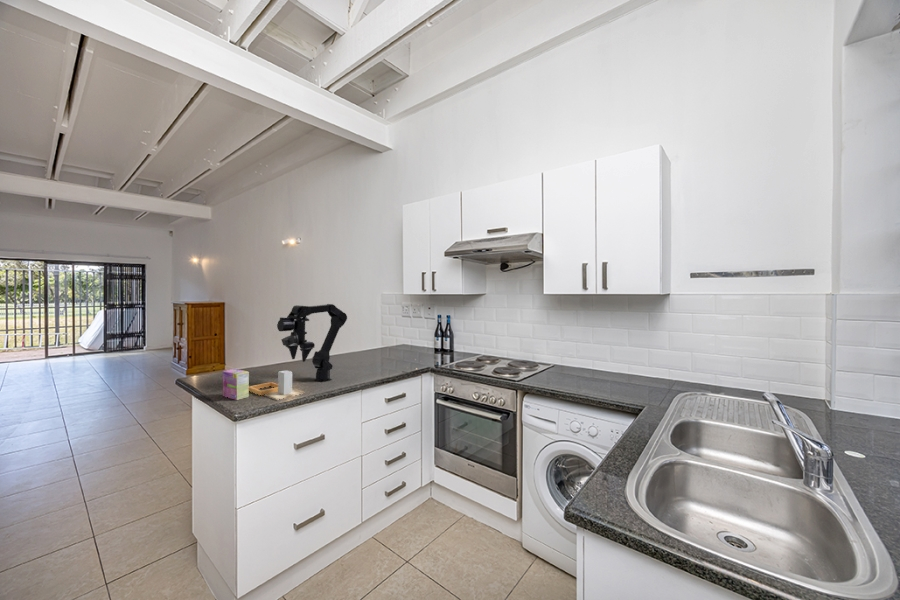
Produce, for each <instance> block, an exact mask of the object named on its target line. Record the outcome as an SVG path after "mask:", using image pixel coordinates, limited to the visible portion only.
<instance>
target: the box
mask: <svg viewBox="0 0 900 600" xmlns="http://www.w3.org/2000/svg"><path fill="white" fill-rule="evenodd" d="M249 380H250V372H249V371H246V370H243V369H242V370H241V369H238V368H237V369H236V368H232V369H227V370H223V371H222V396H225V397H224V398H227V397H228V399H232V400H235V401H238V400H239V401H240V400H242V399H247V398H249V394H250V392H249V386H250V385H249V383H250V382H249Z"/></svg>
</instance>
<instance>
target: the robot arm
mask: <svg viewBox="0 0 900 600" xmlns="http://www.w3.org/2000/svg"><path fill="white" fill-rule="evenodd" d="M317 313H318V314H319V313H327V314H328V316H329V317H331V318H330V327H329V329H328V332H327V334H326V335H325V338H324V340H323V343H322V345H321V348H320V349H319V351H314V354H313V356H312V357H311V359H312V361H311V362H312V364H313V365H314V368H315V369H316V372H315V379H314V381H317V382H321V383H323V381H324V382H327V381H331V380H332V378H331V373H330V372H331V370H332V369H333V366H334V365H333V364H332V363H331V362H330V360H331V358H330V352H331V350H332V347H333V345H334V343H335V340H336V338H337V335H338V333H339V330H340V328H342V327H343V326H344V325H345V323H346V321H347V320H348V315H347V313H345V312H344V311H342V310H341V309H340V308H338V307H337V306H336V305H335V304H334V303H327V304H320V305H319V304H318V305H317V304H316V305H311V306H308V305H294V306H293V307H292V308H291V311H290V312H289V313H288V315H287V317H281V316H280V317H279V320H278V322H277V324H276V326H277V327H276V328H277V330H278V332H290V335H288V336H285V337H283V338H281V343H282V346H285V348H287V349H288V350H289V354H290V356H291V359H292V360H295V359H296V355H297V352H298V348H299V350H300V351H301V360H302V362H303V363H304V362H306V360H307V358H308V356H309V355H310V353H311V351H312V350H314V348H315V343H314V342H313V341H308V339H306V335H307V334H308V331H306V322H310V319H309V318H308V316H310V315H312V314H317Z"/></svg>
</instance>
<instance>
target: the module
mask: <svg viewBox="0 0 900 600" xmlns="http://www.w3.org/2000/svg"><path fill="white" fill-rule="evenodd" d="M277 384H278V393H280V394H282V395H286V394H290V393H292V388H293V372H292V371H291V370H287V369H286V370H281V371H278V373H277Z"/></svg>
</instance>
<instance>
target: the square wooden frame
mask: <svg viewBox="0 0 900 600" xmlns="http://www.w3.org/2000/svg"><path fill="white" fill-rule="evenodd" d="M269 386H271V387H269ZM264 387H266V388H267V389H265V388H264ZM273 387H274V388H273ZM260 388H262V389H260ZM249 391H250V392H249V393H252V392H253V393H252V394H254V393H255V395H257V394H258V395H257V396H260V395H261V396H265V395H264V394H268V393H273V392H277V391H278V383H275V382H273V381H271V382H265V383H260V384H259V383H258V384H255V385H249Z"/></svg>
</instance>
